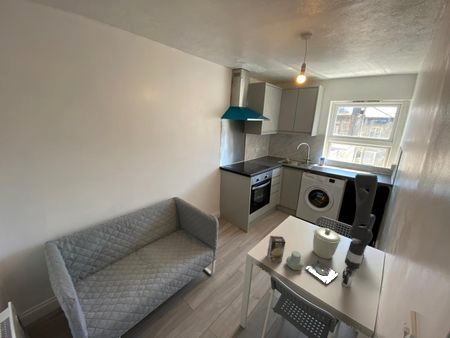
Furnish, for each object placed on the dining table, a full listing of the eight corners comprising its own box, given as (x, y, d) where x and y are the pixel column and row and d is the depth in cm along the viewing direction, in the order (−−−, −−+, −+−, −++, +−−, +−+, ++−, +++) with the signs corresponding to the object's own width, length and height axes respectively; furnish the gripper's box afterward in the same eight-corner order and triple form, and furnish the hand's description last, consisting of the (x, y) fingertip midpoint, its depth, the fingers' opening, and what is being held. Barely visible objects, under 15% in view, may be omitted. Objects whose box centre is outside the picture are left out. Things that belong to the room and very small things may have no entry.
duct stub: (343, 278, 121) (346, 267, 118) (353, 285, 116) (356, 273, 114) (339, 282, 118) (342, 270, 115) (349, 289, 113) (352, 277, 111)
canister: (329, 247, 151) (335, 223, 145) (340, 264, 133) (347, 238, 128) (306, 244, 152) (311, 221, 147) (314, 260, 135) (320, 234, 129)
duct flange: (317, 262, 134) (317, 259, 133) (337, 275, 123) (338, 272, 122) (305, 269, 126) (306, 267, 125) (326, 285, 115) (327, 282, 114)
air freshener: (298, 261, 133) (300, 249, 131) (304, 270, 125) (307, 257, 123) (283, 262, 131) (285, 249, 129) (289, 271, 124) (291, 258, 121)
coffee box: (269, 261, 131) (272, 241, 127) (266, 255, 137) (269, 235, 133) (282, 262, 132) (285, 241, 127) (279, 255, 138) (282, 236, 134)
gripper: (352, 250, 119) (345, 272, 123) (341, 258, 111) (334, 282, 115) (366, 257, 113) (358, 281, 118) (355, 267, 105) (348, 291, 109)
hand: (346, 281), depth 116 cm, fingers closed on duct stub, 5 cm apart
